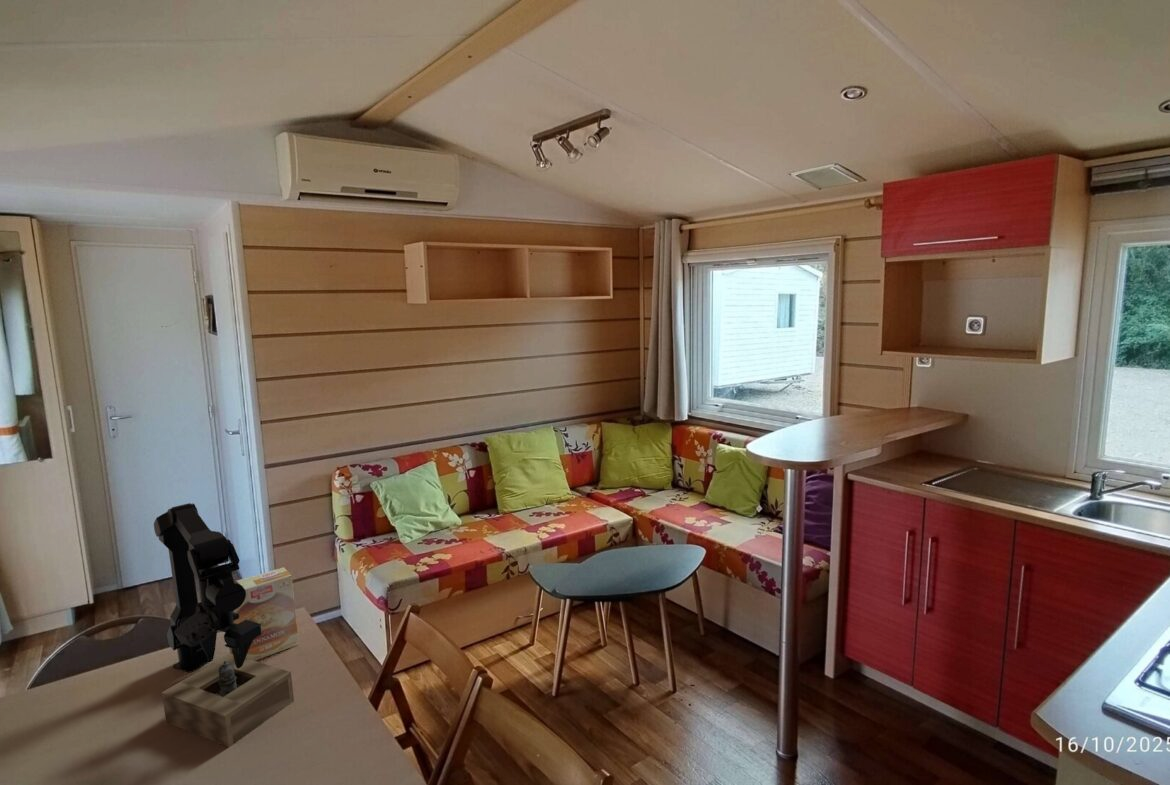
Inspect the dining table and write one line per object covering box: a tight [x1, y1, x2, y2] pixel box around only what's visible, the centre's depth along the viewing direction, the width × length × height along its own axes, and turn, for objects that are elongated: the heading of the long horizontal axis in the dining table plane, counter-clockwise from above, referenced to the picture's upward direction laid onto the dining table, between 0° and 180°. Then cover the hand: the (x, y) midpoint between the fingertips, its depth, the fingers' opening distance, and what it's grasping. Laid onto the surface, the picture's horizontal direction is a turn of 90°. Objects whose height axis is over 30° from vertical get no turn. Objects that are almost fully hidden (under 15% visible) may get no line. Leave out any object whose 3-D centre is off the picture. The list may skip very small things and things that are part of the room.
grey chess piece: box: [217, 661, 238, 697], centre depth 140 cm, size 6×6×12 cm
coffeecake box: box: [228, 567, 300, 661], centre depth 163 cm, size 15×7×20 cm, turn 131°
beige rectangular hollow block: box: [161, 652, 295, 748], centre depth 140 cm, size 20×16×7 cm
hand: (225, 662), depth 139 cm, fingers open, 9 cm apart
